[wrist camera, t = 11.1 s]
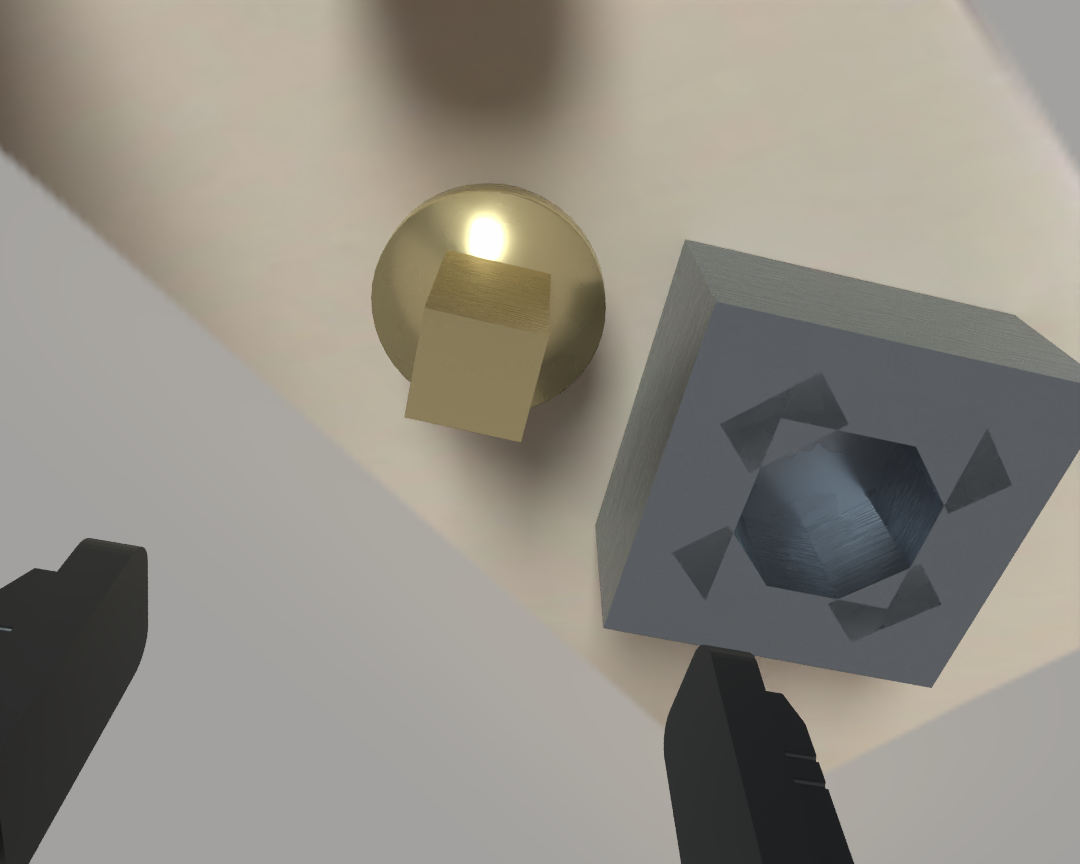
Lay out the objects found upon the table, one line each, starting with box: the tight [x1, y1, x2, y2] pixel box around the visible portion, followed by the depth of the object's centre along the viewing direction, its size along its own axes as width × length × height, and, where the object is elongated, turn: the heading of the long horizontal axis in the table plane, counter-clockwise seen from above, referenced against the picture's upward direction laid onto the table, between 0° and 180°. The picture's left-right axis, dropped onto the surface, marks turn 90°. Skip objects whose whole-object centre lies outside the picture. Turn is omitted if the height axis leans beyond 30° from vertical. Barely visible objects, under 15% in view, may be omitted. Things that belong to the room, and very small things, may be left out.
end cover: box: [371, 184, 606, 442], centre depth 25 cm, size 7×7×9 cm
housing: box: [596, 240, 1080, 688], centre depth 29 cm, size 12×12×6 cm
